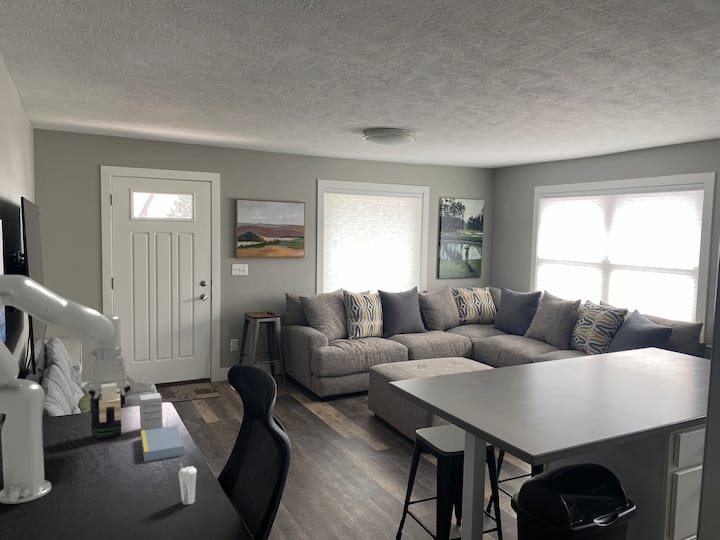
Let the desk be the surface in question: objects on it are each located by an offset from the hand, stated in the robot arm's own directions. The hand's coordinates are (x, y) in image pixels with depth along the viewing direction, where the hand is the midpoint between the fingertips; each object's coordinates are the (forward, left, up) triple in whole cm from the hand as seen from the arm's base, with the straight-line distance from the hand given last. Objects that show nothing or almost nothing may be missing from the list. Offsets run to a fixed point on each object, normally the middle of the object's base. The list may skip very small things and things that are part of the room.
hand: (110, 407), depth 177 cm
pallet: (0, 0, -1) cm, 1 cm away
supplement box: (+19, -13, -16) cm, 28 cm away
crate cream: (-6, 0, +5) cm, 8 cm away
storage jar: (+19, +2, -16) cm, 25 cm away
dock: (-1, -15, -15) cm, 21 cm away
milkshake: (-46, -18, -15) cm, 52 cm away
